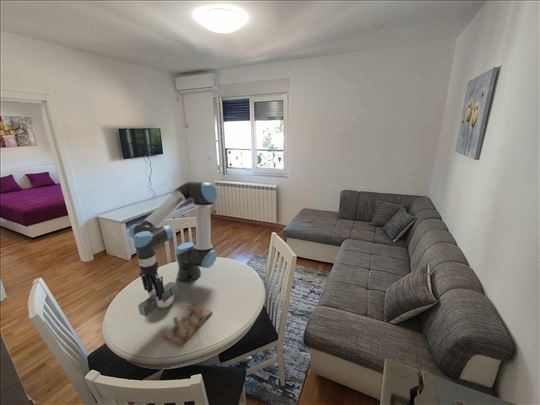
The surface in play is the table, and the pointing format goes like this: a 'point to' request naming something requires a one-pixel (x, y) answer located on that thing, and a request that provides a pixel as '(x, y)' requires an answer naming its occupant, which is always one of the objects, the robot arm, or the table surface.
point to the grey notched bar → (151, 302)
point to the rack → (187, 324)
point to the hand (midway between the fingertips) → (157, 303)
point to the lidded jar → (167, 302)
